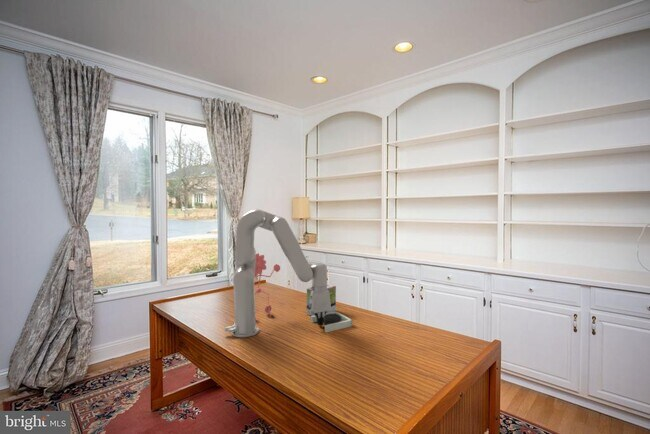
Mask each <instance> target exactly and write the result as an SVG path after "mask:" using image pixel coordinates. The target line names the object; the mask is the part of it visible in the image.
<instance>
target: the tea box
mask: <svg viewBox="0 0 650 434" xmlns="http://www.w3.org/2000/svg"><path fill="white" fill-rule="evenodd" d="M336 287H337V286H335V285H332V284H327V290H328V291H329V295H330V302H331V309H330V311H329V312H327V313H330V312H335V311H336V310H337V307H336V306H337V304H336V302H337V299H336V298H337V295H336V294H337V293H336V292H337V288H336ZM310 288H311V287H308V288H306V315H308V316H310V317H311V316H315V315H311V314H310V295H311V291H312V290H310Z"/></svg>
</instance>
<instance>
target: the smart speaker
mask: <svg viewBox="0 0 650 434" xmlns="http://www.w3.org/2000/svg"><path fill="white" fill-rule="evenodd" d="M337 322H342V321H341V317H340V316H339V315H337V314H328V315H325V316H324V323H323V325H324V326H325V325H328V324H333V323H337Z"/></svg>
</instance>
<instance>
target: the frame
mask: <svg viewBox="0 0 650 434" xmlns="http://www.w3.org/2000/svg"><path fill="white" fill-rule="evenodd" d="M328 314H337V315H339V316H340V317H341V322H337V323H333V324H328V325H325V324H324V332H325V333H328V332H333V331H336V330H341V329H342V330H343V329H346V328H351V327H353V319H351V318H349V317H347V316H346V315H345V314H342V313H340V312H338V311H334V312H330V313H326V314H325V315H328ZM323 318H324V317H323ZM310 322H311V323H317V317H316V316H311V315H310Z"/></svg>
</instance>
